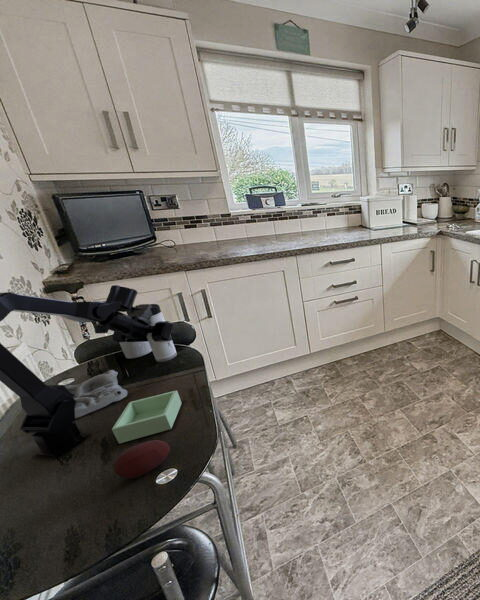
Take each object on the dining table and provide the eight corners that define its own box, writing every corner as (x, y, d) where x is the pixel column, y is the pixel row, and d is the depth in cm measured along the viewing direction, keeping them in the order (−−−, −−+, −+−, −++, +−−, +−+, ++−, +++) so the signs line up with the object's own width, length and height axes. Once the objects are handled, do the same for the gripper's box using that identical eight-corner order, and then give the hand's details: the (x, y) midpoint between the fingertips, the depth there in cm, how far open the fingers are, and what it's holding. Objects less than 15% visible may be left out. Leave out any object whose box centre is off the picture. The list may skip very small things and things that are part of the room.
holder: (118, 443, 82) (111, 429, 80) (135, 415, 92) (129, 402, 91) (171, 429, 86) (165, 414, 84) (181, 403, 96) (176, 390, 94)
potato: (121, 470, 74) (110, 449, 72) (173, 447, 79) (164, 427, 77) (118, 492, 68) (106, 471, 66) (174, 466, 74) (165, 445, 71)
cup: (140, 358, 125) (128, 330, 121) (119, 358, 126) (107, 330, 122) (159, 346, 134) (148, 319, 129) (139, 347, 135) (128, 320, 130)
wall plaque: (128, 398, 101) (124, 387, 99) (42, 431, 89) (35, 420, 88) (124, 370, 117) (119, 360, 116) (50, 395, 106) (45, 385, 104)
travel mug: (154, 358, 115) (133, 306, 108) (175, 351, 119) (156, 300, 112) (156, 364, 110) (134, 310, 104) (178, 357, 114) (159, 303, 108)
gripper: (158, 298, 102) (194, 317, 116) (106, 301, 104) (147, 318, 118) (146, 332, 97) (184, 347, 111) (92, 334, 100) (136, 348, 114)
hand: (163, 339), depth 114 cm, fingers closed on travel mug, 6 cm apart
